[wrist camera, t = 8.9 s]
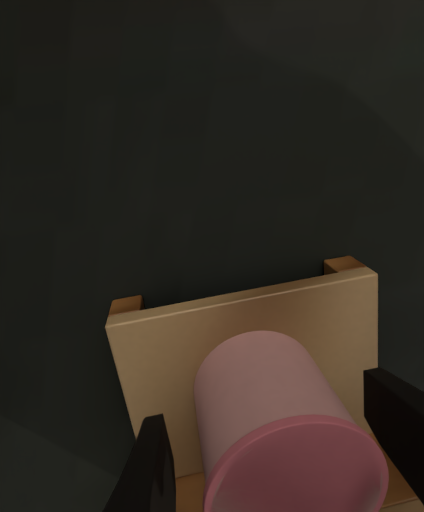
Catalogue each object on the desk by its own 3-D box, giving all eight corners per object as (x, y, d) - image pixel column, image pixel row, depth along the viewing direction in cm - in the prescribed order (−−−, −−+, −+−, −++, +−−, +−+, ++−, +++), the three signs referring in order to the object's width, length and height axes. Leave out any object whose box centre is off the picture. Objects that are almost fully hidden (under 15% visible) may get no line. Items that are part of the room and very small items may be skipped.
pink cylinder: (321, 422, 15) (388, 542, 11) (200, 449, 15) (218, 585, 11) (315, 314, 14) (390, 403, 9) (178, 341, 13) (188, 448, 9)
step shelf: (349, 254, 16) (457, 323, 10) (354, 460, 19) (434, 594, 14) (111, 299, 15) (82, 402, 9) (165, 504, 19) (168, 665, 13)
